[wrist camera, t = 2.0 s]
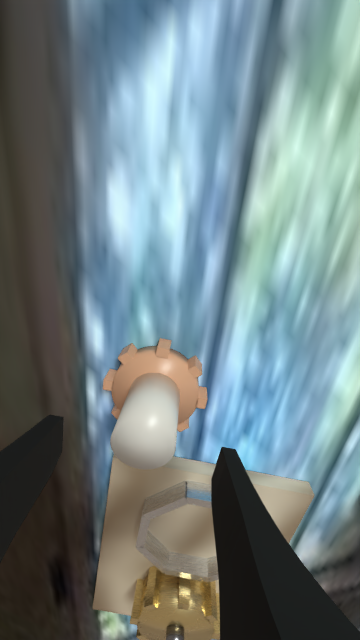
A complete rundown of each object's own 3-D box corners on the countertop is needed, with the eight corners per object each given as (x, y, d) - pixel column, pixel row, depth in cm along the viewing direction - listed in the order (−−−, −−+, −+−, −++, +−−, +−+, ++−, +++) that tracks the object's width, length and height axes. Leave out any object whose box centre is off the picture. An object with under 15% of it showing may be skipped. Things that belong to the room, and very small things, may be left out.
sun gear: (228, 572, 21) (233, 632, 18) (208, 617, 24) (210, 678, 21) (142, 556, 21) (133, 614, 18) (131, 603, 24) (121, 662, 21)
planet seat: (272, 496, 18) (277, 514, 17) (239, 569, 21) (241, 588, 20) (150, 473, 18) (147, 489, 17) (134, 549, 21) (131, 567, 20)
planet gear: (216, 349, 16) (225, 403, 11) (195, 429, 18) (194, 503, 13) (114, 329, 16) (79, 374, 11) (105, 412, 18) (72, 480, 13)
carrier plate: (308, 481, 19) (314, 495, 18) (237, 620, 26) (239, 635, 25) (117, 445, 19) (112, 457, 18) (96, 594, 25) (92, 608, 24)
